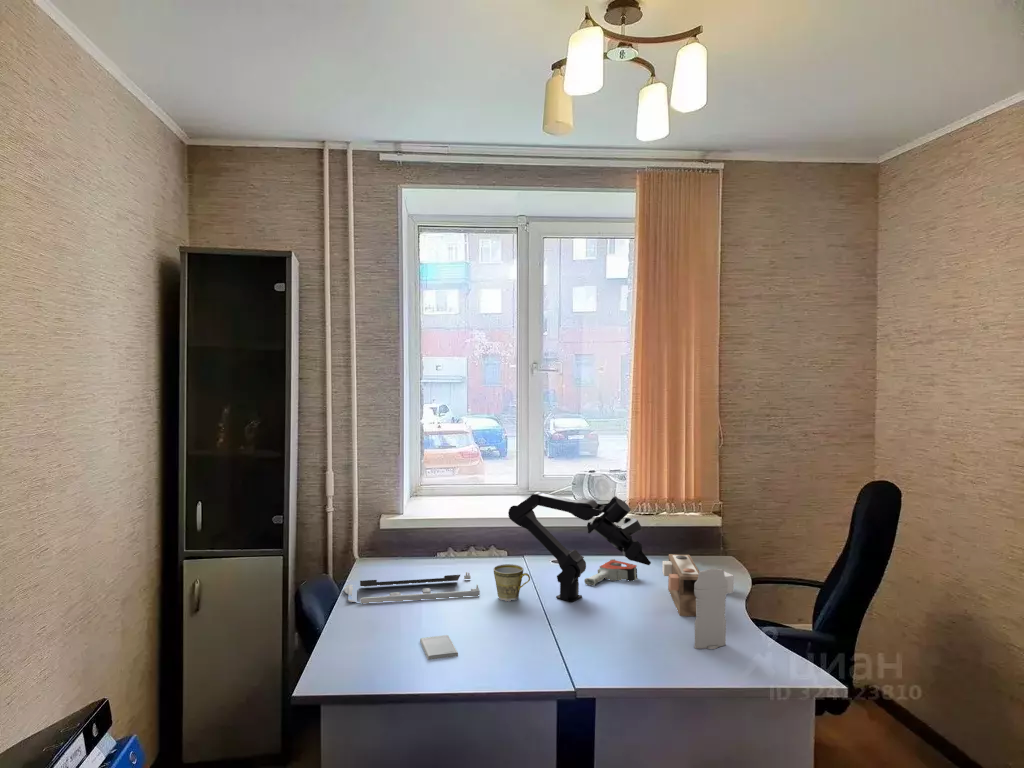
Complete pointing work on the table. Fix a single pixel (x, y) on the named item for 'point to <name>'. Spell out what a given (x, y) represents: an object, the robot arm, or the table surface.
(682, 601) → the wooden stand
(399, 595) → the paper cutter
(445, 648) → the hard drive
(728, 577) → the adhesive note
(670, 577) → the salmon pink cube
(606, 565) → the tape dispenser
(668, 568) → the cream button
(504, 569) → the ceramic cup
